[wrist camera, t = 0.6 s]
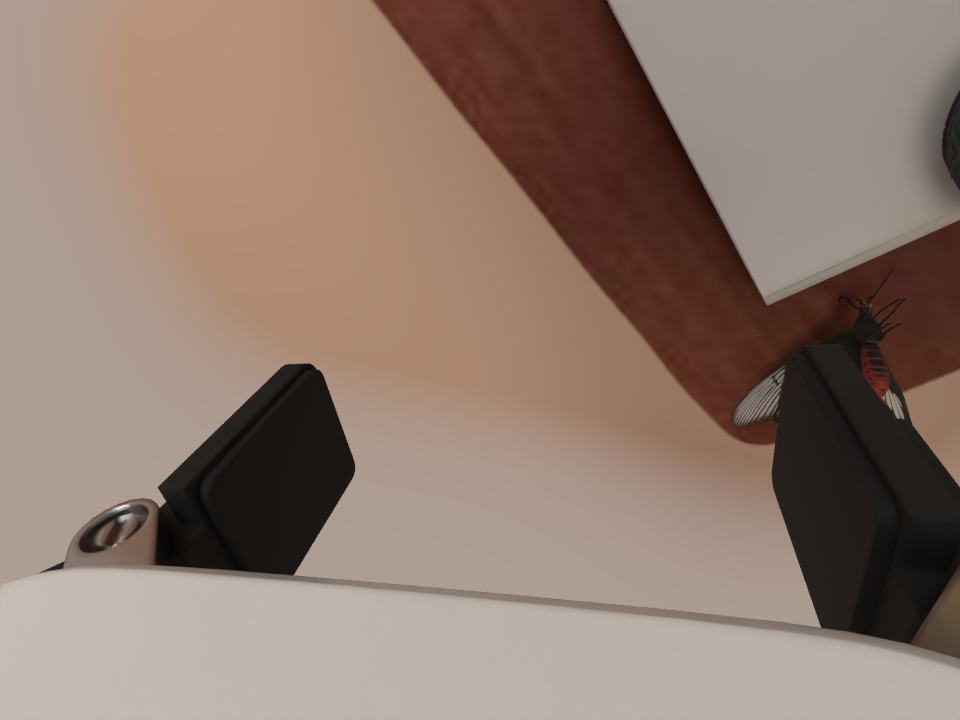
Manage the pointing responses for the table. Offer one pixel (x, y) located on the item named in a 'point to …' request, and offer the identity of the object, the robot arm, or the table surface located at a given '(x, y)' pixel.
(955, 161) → the mate gourd
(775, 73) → the book
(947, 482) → the robot arm
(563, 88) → the table surface
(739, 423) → the butterfly
